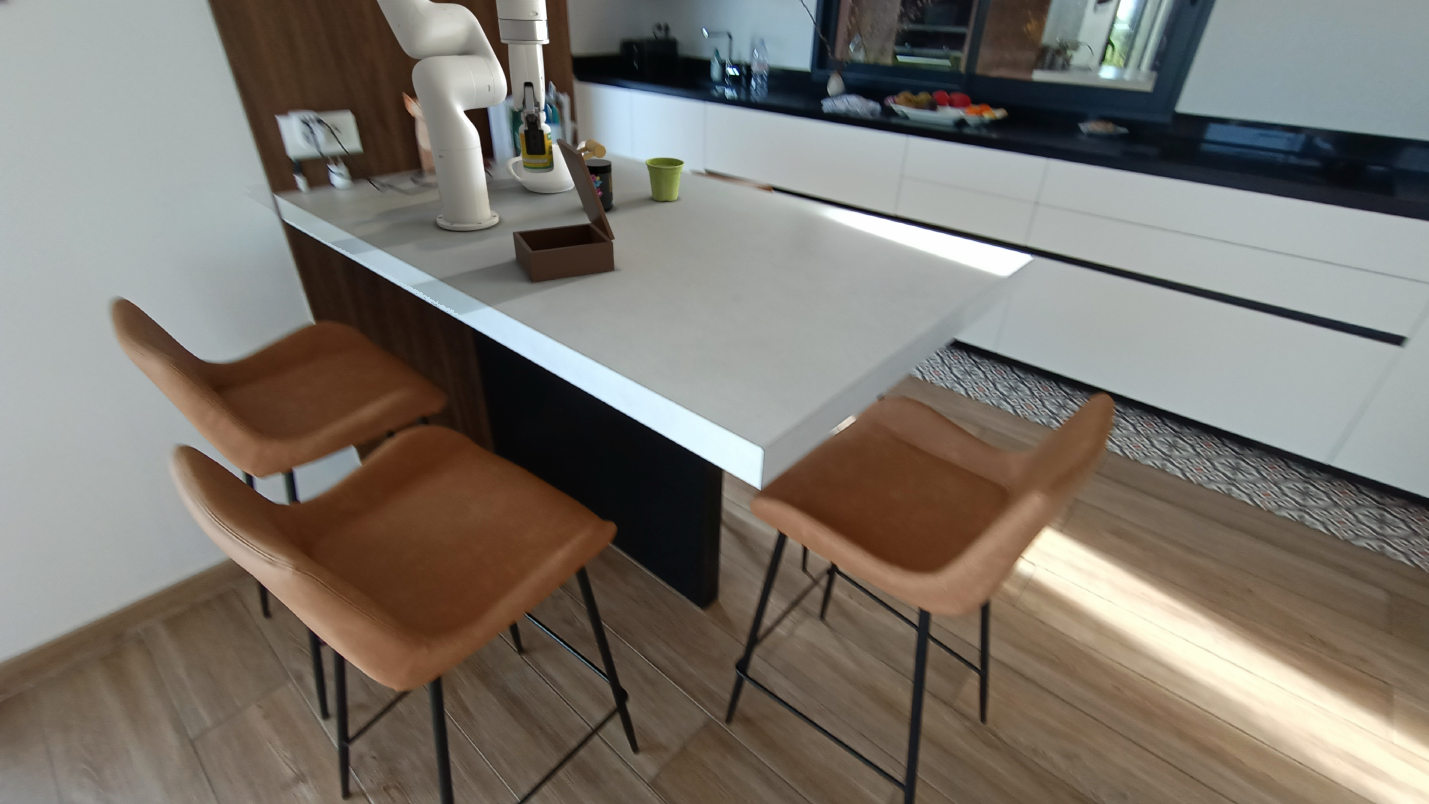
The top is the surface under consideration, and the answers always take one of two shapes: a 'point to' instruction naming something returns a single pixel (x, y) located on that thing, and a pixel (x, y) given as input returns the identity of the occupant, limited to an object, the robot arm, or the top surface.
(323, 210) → the top surface
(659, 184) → the plant pot
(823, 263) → the top surface
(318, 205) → the top surface
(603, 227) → the brown drawer front
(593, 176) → the supplement container
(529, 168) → the supplement bottle
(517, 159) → the teapot
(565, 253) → the brown box
